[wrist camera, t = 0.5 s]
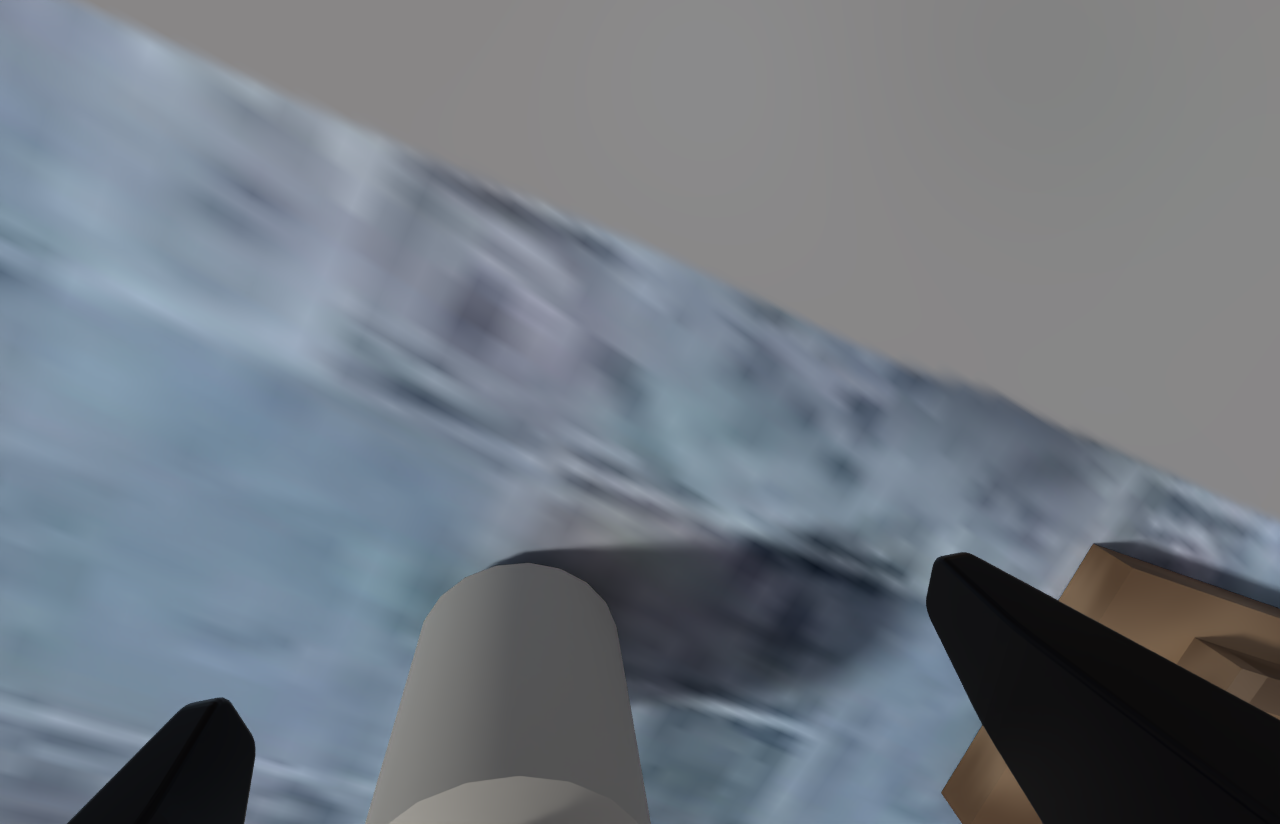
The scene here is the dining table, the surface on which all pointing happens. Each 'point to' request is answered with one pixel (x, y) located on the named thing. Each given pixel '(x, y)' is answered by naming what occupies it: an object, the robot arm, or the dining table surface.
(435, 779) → the can
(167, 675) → the dining table surface
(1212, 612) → the walnut base
